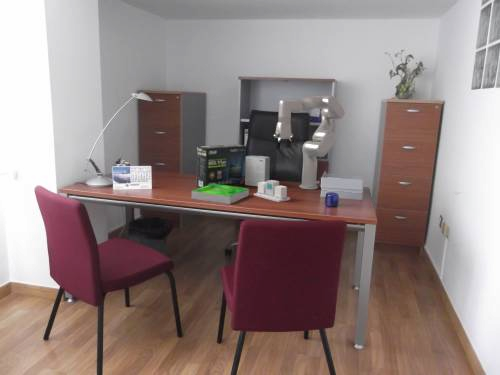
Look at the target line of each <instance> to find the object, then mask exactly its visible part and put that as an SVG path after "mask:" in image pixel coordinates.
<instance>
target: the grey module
mask: <svg viewBox="0 0 500 375" xmlns="http://www.w3.org/2000/svg"><path fill="white" fill-rule="evenodd" d="M275 186H280V181H278V180H273V179H269V181H266V194H268V195H272V196H274V194H275Z"/></svg>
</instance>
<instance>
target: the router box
mask: <svg viewBox="0 0 500 375" xmlns="http://www.w3.org/2000/svg"><path fill="white" fill-rule="evenodd" d="M196 149H197V151H196V182H195V183H196V187H197V188H202V187H205V186H208V185H211V184H218V185H226V186H236V185H242V184H244V185H245V156H247V146H246V145H243V144H225V145H222V144H221V145H206V146H197V147H196Z"/></svg>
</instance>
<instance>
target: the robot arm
mask: <svg viewBox="0 0 500 375" xmlns="http://www.w3.org/2000/svg"><path fill="white" fill-rule="evenodd" d="M315 110H321V112H320V113H321V121H320V122H321V123H320V124H319V126H318V128H317V129H316V130H315V131H314V132H313V135H312V141H311V140H307V141H305V142H304V143H303V144H302V148H301V149H302V172H301V184H300V185H299V186H298V188H301V189H303V190H317V189H318V188H319V187H318V185H319V184H320V183H321V182H320V180H317V170H318V159H317V157H318V158H323V157H325V156H326V155H327V154H328V152H329V151H330V150H331V148H332V147H333V145H334V144H335V142H336V137H337V136H336V133H335V132H334V131H333V121H332V120H341V119H343V118H344V117H345V109H344V107H343V105H341V103H340V102H339V100H338V99H337V98H336V97H334V96H333V95H315V96H309V97H308V96H307V97H300V98H292V99H291V98H290V99H281V100H279V102H278V120H277V121H278V122H276V126H275V133H274V134H273V139H274V141H275V149H281V142H280V141H282V140H286V141H285V148H288V149H291V143H292V140H293V137H294V134H293V133H292V124H291V117H292V115H291V113H300V112H302V111H306V112H307V111H315Z"/></svg>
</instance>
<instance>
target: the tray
mask: <svg viewBox="0 0 500 375" xmlns="http://www.w3.org/2000/svg"><path fill="white" fill-rule="evenodd" d="M249 192H250V189H249V187H241V186H234V185H230V186H226V185H218V184H211V185H208V186H205V187H202V188H200V187H198V188H196V189H193V190H191V199H192V200H199V201H206V202H211V203H212V202H213V203H217V204H218V203H219V204H224V205H225V204H226V205H231V203H232V204H234V203H235V202H238V201H240V200H242V199H244V198H247V197H248V196H249ZM233 202H234V203H233Z"/></svg>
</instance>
